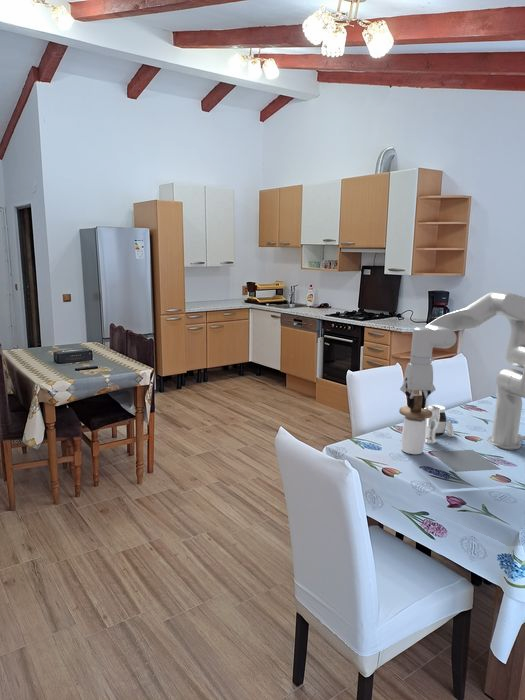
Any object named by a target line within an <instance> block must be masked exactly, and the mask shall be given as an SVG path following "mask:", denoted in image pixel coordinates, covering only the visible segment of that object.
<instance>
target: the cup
mask: <svg viewBox="0 0 525 700" xmlns="http://www.w3.org/2000/svg"><path fill="white" fill-rule="evenodd" d="M403 418H404V419H403V425H402V433H401V450H402V452H404V453H406V454H409V455H410V454H411V455H420V454H423V452H424V446H425V442H424V441H425V432H426V419H418V418H411V417H407V416H404V417H403Z"/></svg>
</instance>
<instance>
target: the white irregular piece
mask: <svg viewBox="0 0 525 700" xmlns="http://www.w3.org/2000/svg"><path fill="white" fill-rule="evenodd" d="M433 405H434V406H437V407H439V408H440V419H439V424H438V428H437V431H436V436H435V437H439V436H440V435H441V436H443V435H445V432H446V433H447V435H448V437H449V438H453V437H454V426H453V423H452V421H451V420H447V414H446V407H445V406H443V405H440V404H433Z"/></svg>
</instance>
